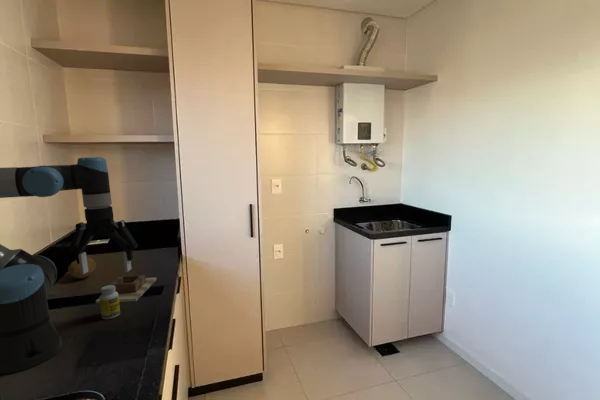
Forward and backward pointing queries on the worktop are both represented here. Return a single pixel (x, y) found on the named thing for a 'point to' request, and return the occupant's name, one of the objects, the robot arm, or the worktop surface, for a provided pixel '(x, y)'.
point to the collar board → (131, 287)
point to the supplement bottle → (109, 302)
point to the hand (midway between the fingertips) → (106, 271)
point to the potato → (76, 272)
